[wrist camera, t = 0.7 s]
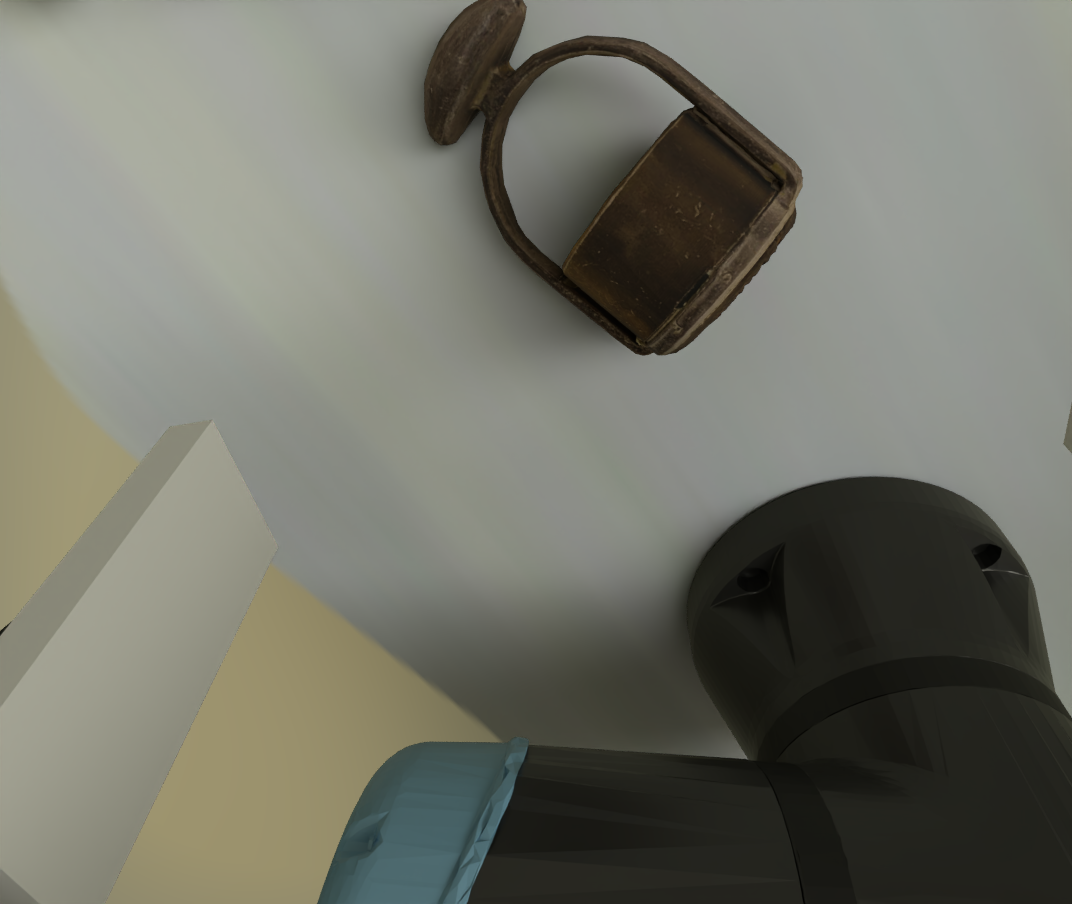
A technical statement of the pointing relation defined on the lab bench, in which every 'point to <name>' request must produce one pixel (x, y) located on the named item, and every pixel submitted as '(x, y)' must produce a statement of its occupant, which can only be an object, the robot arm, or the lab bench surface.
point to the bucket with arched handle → (628, 186)
